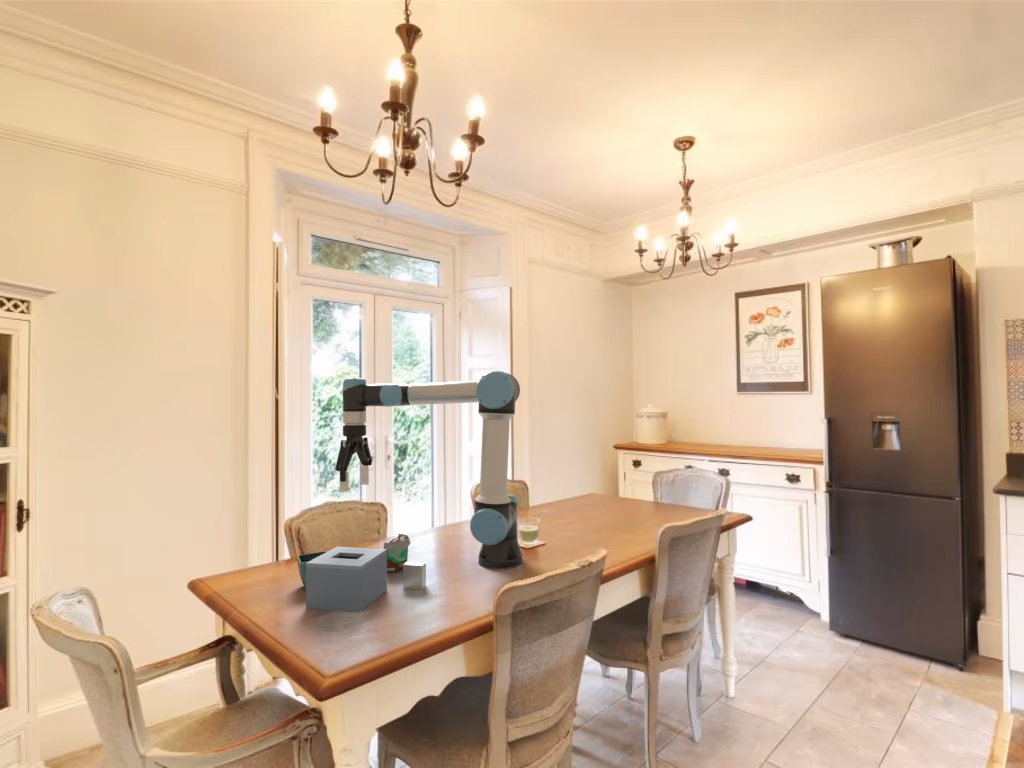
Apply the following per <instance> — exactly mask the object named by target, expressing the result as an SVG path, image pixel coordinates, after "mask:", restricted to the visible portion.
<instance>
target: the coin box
mask: <svg viewBox="0 0 1024 768" xmlns="http://www.w3.org/2000/svg"><path fill="white" fill-rule="evenodd" d="M387 591H388V573H387V549H384V548H371V547H369V548H368V547H351V546H335V547H334V548H332V549H330V550H328V551H327V552H326V553H324V554H322V555H320V556H318V557H316V558H315V559H313V560H311V561H309V562H307V563H306V589H305V608H306V609H317V610H327V611H328V610H329V611H342V612H343V611H344V612H354V613H362V612H363V611H364V610H365V609H367V607H369V606H370V605H371V604H372V603H374V602H375V601H376V600H377V599H379V597H381V596H382V595H383V594H384V593H386V592H387Z"/></svg>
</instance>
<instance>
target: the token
mask: <svg viewBox="0 0 1024 768" xmlns="http://www.w3.org/2000/svg"><path fill="white" fill-rule="evenodd" d="M426 563H427V562H423V561H421V562H419V561H407V562H406V563H405V564H403V571H402V577H403V578H402V589H405V590H421V591H422V590H424V589H425V588H426V587H427V564H426Z"/></svg>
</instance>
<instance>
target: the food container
mask: <svg viewBox="0 0 1024 768" xmlns="http://www.w3.org/2000/svg"><path fill="white" fill-rule="evenodd" d="M410 545H411V539H410V537H409V535H407V534H403V533H398V537H397V536H396V538H393V539H391V540H389V542H384V543H383V549H387V574H396V573H400V572H403V564H405V563H406V562H408V557H409V546H410Z"/></svg>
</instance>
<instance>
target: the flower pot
mask: <svg viewBox="0 0 1024 768" xmlns="http://www.w3.org/2000/svg"><path fill="white" fill-rule="evenodd" d="M326 552H328V551H327V550H324V551H318V552H310V553H302V554H298V555H296V559H297V566H298V573H299V577H300V579H301V583H302V585H303V587H304V588H305V590H306V563H307V562H309V561H311V560H313V559H315V558H316V557H318V556H320V555H322V554H324V553H326Z"/></svg>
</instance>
